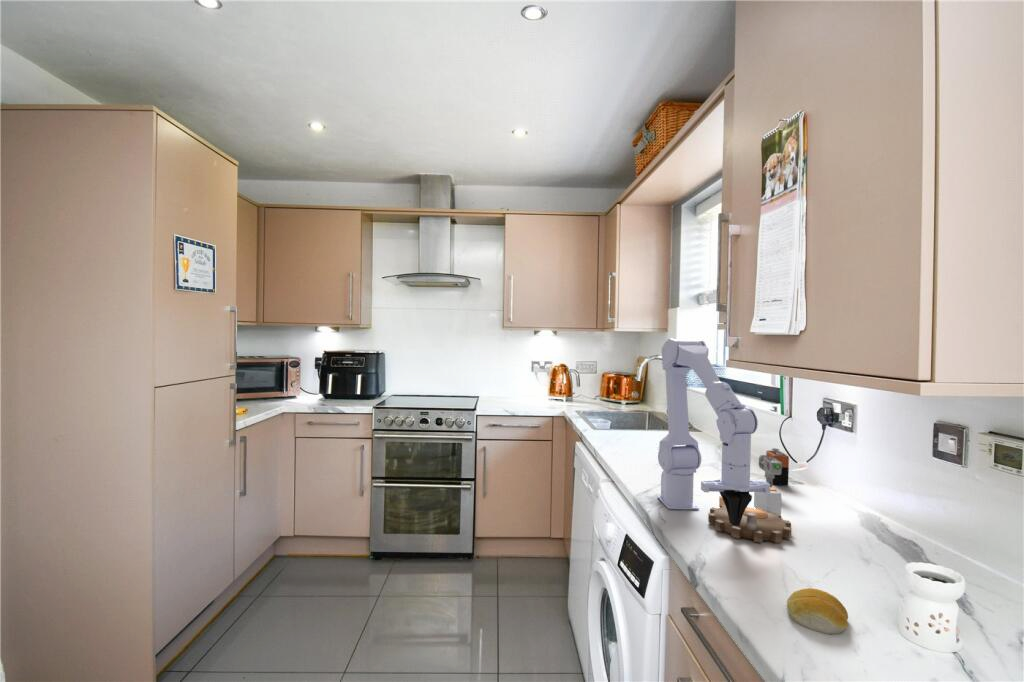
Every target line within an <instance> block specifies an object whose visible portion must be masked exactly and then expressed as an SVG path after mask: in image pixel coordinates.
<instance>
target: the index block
mask: <svg viewBox="0 0 1024 682" xmlns="http://www.w3.org/2000/svg"><path fill="white" fill-rule="evenodd" d="M718 498H719V499H718V508H719V507H720V505H725V503H724V501H723V499H722V496H721V495H720V496H719V497H718Z"/></svg>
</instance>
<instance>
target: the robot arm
mask: <svg viewBox="0 0 1024 682" xmlns="http://www.w3.org/2000/svg"><path fill="white" fill-rule="evenodd" d="M661 362H662V363H661V364H662V365H661V367H662V371H665V372H664V373H665V374H664V375H665V391H666V392H665V393H666V410H667V425H668V426H667V428H668V434H667V435H665V437H663V438H661V439H660V440H659V446H658V447H659V448H658V453H657V460H658V463H659V466H660V468H661V469H662V472H661V475H660V495H659V494H658V495H657V499H659V500H660V501H661V503H662V504H664V505H665V507H666V508H667V509H668V510H700V507H699V506H698V505H697V504H696V503H695V502H694V474H696V473H697V470H698V469H699V468H700V467H701V464H702V454H701V451H700V447H699V442H698V440H696V438H694V437H693V436H692V435H690V424H689V423H690V422H689V408H688V406H689V405H688V393H687V391H688V389H687V387H688V386H687V375H688V373H689V372H691V371H693V372H694V373H695V375H696V376H697V378H698V379H699V380H700V382H701V383H702V384H703V385H704V387H705V392H704V396H705V397H706V399H707V401H708V402H709V404H710V406H711V407H712V410H714V412H715V414H716V416H717V419H715V420H716V421H715V422H716V426H717V430H718V431H719V440H720V441H721V477H720V478H721V479H720V478H719V479H712V480H701V481H700V490H701V491H702V492H703V493H709V492H716V493H717V492H718V493H719V494H720V496H722V499H723V501H724V503H725V506H726V509H727V512H728V517H729V522H730V523H731V524H732V525H733V526H740V522H741V519H742V516H743V513H744V511H745V509H746V507H748V506H749V504H750V502H752V499H753V495H752V494H750V493H754V492H765V493H770V484H768V483H767V482H766V481H758V480H751V449H752V448H751V446H752V435H753V434H754V433H755V432H756V431H757V429H758V425H759V424H758V423H759V422H758V417H757V415H756V413H755V410H754V409H752V408H750V407H747V406H746V405H745V404H742V403H741V402H740V400H739V399H738V397H737V395H736V394H735V392H734V391H733V390H732V387H731V386H730V384H729V383H727V382H725V381H721V380H720V378H719V376H718V375H717V372H716V370H715V368H714V366H713V365H712V363H711V362H710V359H709V348H708V347H707V344H706V343H705V341H704V340H703V339H700V338H697V339H681V338H680V339H679V338H678V339H676V338H675V339H674V338H667V339H666V341H665V342H664V344H663V345H662V347H661Z"/></svg>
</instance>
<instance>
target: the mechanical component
mask: <svg viewBox="0 0 1024 682" xmlns="http://www.w3.org/2000/svg"><path fill="white" fill-rule="evenodd" d="M758 466H759V468H760V469H761V470H762V471H764V478H765V479H766V481H765V482H767V483H768V484H770V487H773V484H772V483H773V478H775V477H774V475H781V470H782V463H781V462H780V461H778V460H776V459H775V458H771V457H768V456H766V454H761V455H760V456H759V457H758Z"/></svg>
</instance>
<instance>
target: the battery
mask: <svg viewBox="0 0 1024 682" xmlns="http://www.w3.org/2000/svg"><path fill="white" fill-rule="evenodd" d="M765 452H766V453H765V455H766V456H768V457H771V458H775V459H776V460H778V461H780V462H781V463H782V470H781V475H774V477H775V478H773V483H772V486H781V485H787V486H789V469H790V468H789V467H790V466H789V464H790V462H789V461H790V457H789V455H787V454H786V453H784V452H782V451H780V449H779V448H775V447H772V448H771V450H770V449H769V450H766V451H765ZM787 486H786V487H787Z"/></svg>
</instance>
